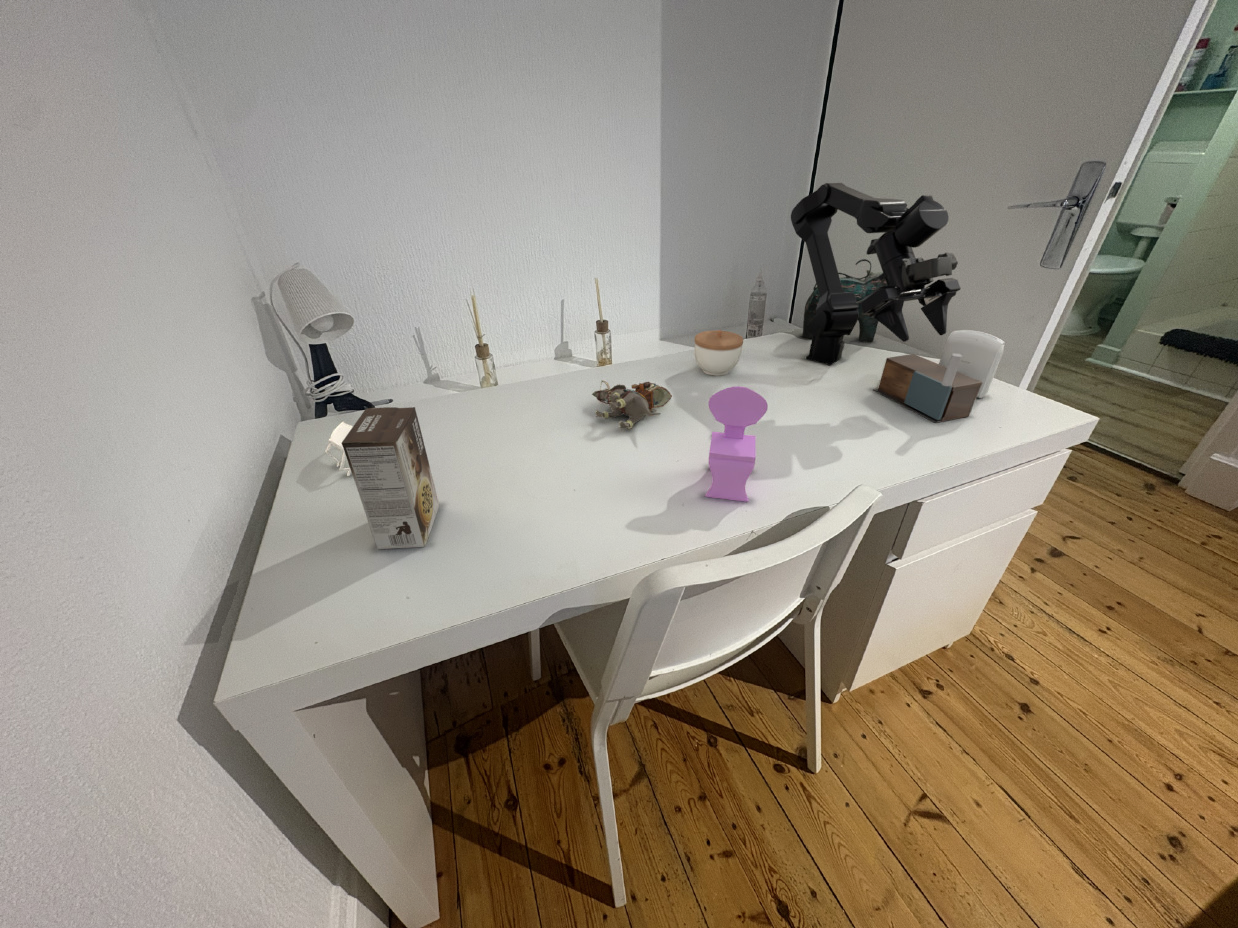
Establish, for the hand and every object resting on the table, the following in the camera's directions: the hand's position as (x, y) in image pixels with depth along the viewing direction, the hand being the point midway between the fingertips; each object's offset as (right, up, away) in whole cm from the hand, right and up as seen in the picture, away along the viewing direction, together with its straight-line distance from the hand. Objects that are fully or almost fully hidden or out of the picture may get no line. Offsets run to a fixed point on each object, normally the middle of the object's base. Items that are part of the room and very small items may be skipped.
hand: (925, 337), depth 95 cm
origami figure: (-102, -23, -9) cm, 104 cm away
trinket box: (-35, -2, +22) cm, 42 cm away
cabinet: (+3, -11, +7) cm, 14 cm away
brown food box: (-86, -32, -25) cm, 95 cm away
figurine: (-54, -13, +5) cm, 56 cm away
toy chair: (-41, -27, -17) cm, 52 cm away
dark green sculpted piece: (+1, +10, +41) cm, 42 cm away
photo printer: (+14, -8, +12) cm, 20 cm away
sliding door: (+1, -13, +2) cm, 14 cm away
